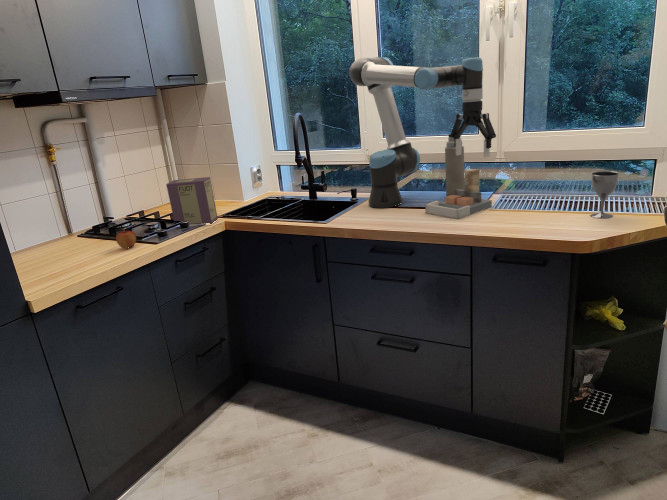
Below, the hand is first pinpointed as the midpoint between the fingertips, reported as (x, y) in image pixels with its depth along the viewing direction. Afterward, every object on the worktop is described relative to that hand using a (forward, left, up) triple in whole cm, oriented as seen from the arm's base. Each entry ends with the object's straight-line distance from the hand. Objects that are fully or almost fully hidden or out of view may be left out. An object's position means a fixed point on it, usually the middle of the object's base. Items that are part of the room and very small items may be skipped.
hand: (472, 155), depth 189 cm
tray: (0, -15, -20) cm, 26 cm away
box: (-84, -87, -21) cm, 123 cm away
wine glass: (+47, +11, -21) cm, 52 cm away
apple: (-73, -120, -21) cm, 142 cm away
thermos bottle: (-15, +8, -21) cm, 27 cm away
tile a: (-3, -8, -18) cm, 20 cm away
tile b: (+3, -8, -18) cm, 20 cm away
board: (0, -5, -20) cm, 21 cm away
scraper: (0, 0, -18) cm, 18 cm away
